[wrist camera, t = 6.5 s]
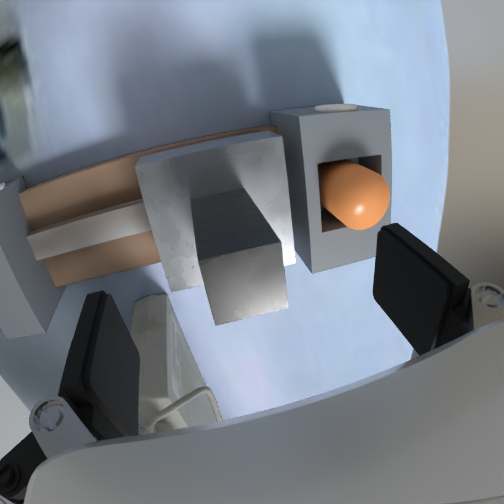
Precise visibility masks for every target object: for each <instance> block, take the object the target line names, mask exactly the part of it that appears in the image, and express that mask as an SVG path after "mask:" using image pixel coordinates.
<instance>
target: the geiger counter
mask: <svg viewBox="0 0 504 504" xmlns="http://www.w3.org/2000/svg"><path fill="white" fill-rule="evenodd" d="M130 335H131V337H132V339H133V341H134V343H135V345H136V347H137V349H138V351H139V355H140V374H139V407H138V423H139V424H140V425H141V426H142V428H143V429H144V430H143V431H142V433H141V435H142V434H149V433H156V432H163V431H169V430H175V429H180V428H186V427H192V426H198V425H203V424H208V423H213V422H218V421H222V417H221V415H220V412H219V409H218V405H217V402H216V399H215V397H214V395H213V392H212V391H211V389H210V388H208V387H207V386H206V384H205V382H204V379H203V377H202V375H201V373H200V371H199V368H198V366H197V364H196V362H195V360H194V357H193V355H192V353H191V350H190V348H189V346H188V344H187V341H186V339H185V337H184V334H183V332H182V329H181V327H180V325H179V322H178V320H177V317H176V315H175V312H174V310H173V307H172V305H171V302H170V300H169V297H168V295H167V294H160V295H149V296H147V297H144V298H142V299H140V300H138V301H136V302H135V303H134V309H133V316H132V323H131V330H130Z"/></svg>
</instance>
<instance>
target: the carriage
mask: <svg viewBox="0 0 504 504" xmlns="http://www.w3.org/2000/svg"><path fill="white" fill-rule="evenodd" d="M135 170H136V174H137V178H138V182H139V186H140V190H141V193H142V197H143V201H144V204H145V208H146V212H147V215H148V219H149V222H150V226H151V229H152V233H153V236H154V239H155V243H156V246H157V249H158V252H159V256H160V259H161V262H162V265H163V268H164V271H165V275H166V278H167V281H168V284H169V287H170V290H171V292H174V291H179V290H183V289H188V288H192V287H196V286H201V285H204V286H205V290H206V294H207V297H208V301H209V304H210V308H211V312H212V315H213V319H214V322H215V326H216V325H220V324H224V323H229V322H233V321H237V320H241V319H245V318H249V317H253V316H257V315H261V314H265V313H269V312H273V311H277V310H281V309H284V308H288V299H287V290H286V280H285V270H284V266H285V265H289V264H293V263H296V262H295V250H294V239H293V229H292V219H291V209H290V199H289V190H288V180H287V172H286V163H285V154H284V146H283V138H282V136H281V135H278V134H276V133H273V132H270V131H262V132H256V133H250V134H244V135H238V136H232V137H227V138H222V139H217V140H212V141H207V142H202V143H197V144H193V145H188V146H183V147H179V148H175V149H170V150H166V151H162V152H158V153H154V154H150V155H146V156H142V157H141V158H140V159H139V161H138V162H137V164H136V165H135Z"/></svg>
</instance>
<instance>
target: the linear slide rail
mask: <svg viewBox="0 0 504 504" xmlns="http://www.w3.org/2000/svg"><path fill="white" fill-rule="evenodd" d="M270 118H271V125H274V126H277V128H278V135H281V136H282V138H283V146H284V154H285V163H286V171H287V176H288V185H289V194H290V209H291V219H292V229H293V239H294V249H295V251H296V252H297V254H298V255H299V256H300V258H301V259H302V260H303V262H304V263H305V265H306V266H307V267H308V269H309V270H310V272H311V273H312V274H313V273H317V272H321V271H325V270H328V269H332V268H336V267H340V266H343V265H347V264H351V263H355V262H358V261H362V260H366V259H369V258H373V257H376V245H377V233H378V231H380V229H381V227H382V226H384V225H389V224H390V223H391V194H392V151H391V123H390V110H388V109H382V108H375V107H368V106H360V105H356V104H326V105H318V106H310V107H300V108H291V109H283V110H275V111H270ZM343 159H348V160H350V161H352V162H355V163H357V164H359V165H361V166H364V167H366V168H368V169H370V170H372V171H374V172H376V173H378V174H380V175H381V176H382V177H383V178H384V179H385V180H386V182H387V184H388V187H389V191H390V200H389V205H388V208H387V210H386V212H385V214H384V216H383V217H382V218H381V219H380V221H379V222H377V223H376V224H375V225H373V226H372V227H370V228H367V229H364V230H354V229H351V228H349V227H347V226H346V225H345V224H344V223H342V222H341V221H340V220H339V219H338V218H336V217H335V216H334V215H333V214H332V213H330V212H329V211H328V210H327V209H326V208H324V207H323V206H322V205H321V204H320V194H319V180H318V167H317V166H318V164H319V163H323V162H329V161H336V160H343ZM25 189H26V185H25V182H24V178H23V176H22V177H20V178H17V179H15V180H13V181H10V182H8V183H6V184H5V183H4V182H3V183H0V329H1V330H2V332H3V333H4V335H5V337H6V338H7V340H8V339H14V338H20V337H26V336H32V335H37V334H43V333H46V331H47V328H48V326H49V323H50V321H51V319H52V316H53V314H54V312H55V309H56V307H57V305H58V303H59V300H60V298H61V296H62V294H63V292H64V290H65V285H63V286H59V287H56V286H55V284H54V282H53V280H52V278H51V276H50V273H49V271H48V269H47V267H46V265H45V262H44V260H43V259H41V260H38V261H37V260H36V258H35V256H34V253H33V251H32V249H31V246H30V244H29V241H28V239H27V236H28V235H29V234H30V232H31V228H30V226H29V223H28V220H27V217H26V215H25V212H24V209H23V206H22V203H21V200H20V197H19V193H21V192H22V191H24V190H25Z"/></svg>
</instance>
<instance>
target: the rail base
mask: <svg viewBox="0 0 504 504" xmlns="http://www.w3.org/2000/svg"><path fill="white" fill-rule="evenodd" d="M262 131H270V132H273V133H276V134H278V128H277V126H274V125H265V126H259V127H252V128H246V129H240V130H235V131H229V132H224V133H218V134H213V135H208V136H203V137H199V138H194V139H189V140H185V141H180V142H176V143H172V144H167V145H163V146H159V147H155V148H151V149H147V150H143V151H140V152H136V153H132V154H129V155H125V156H121V157H118V158H114V159H111V160H108V161H104V162H101V163H98V164H95V165H91V166H88V167H85V168H82V169H79V170H76V171H73V172H70V173H67V174H64V175H61V176H58V177H56V178H53V179H50V180H47V181H44V182H42V183H39V184H36V185H34V186H31V187H29V188H26V189H25V190H24V191H22V192H21V193H19V197H20V200H21V203H22V206H23V209H24V212H25V215H26V217H27V220H28V223H29V226H30V228H31V232H30V234H29V235H28V236H27V239H28V241H29V244H30V246H31V249H32V251H33V253H34V256H35V258H36V260H37V261H38V260H41V259H43V260H44V262H45V265H46V267H47V269H48V271H49V273H50V276H51V278H52V280H53V282H54V284H55V286H56V287H59V286H63V285H67V284H71V283H75V282H79V281H83V280H87V279H92V278H96V277H100V276H104V275H108V274H112V273H117V272H121V271H125V270H129V269H133V268H138V267H142V266H146V265H150V264H155V263H159V262H161V259H160V256H159V252H158V249H157V246H156V243H155V239H154V236H153V233H152V229H151V226H150V222H149V219H148V215H147V212H146V208H145V204H144V201H143V197H142V193H141V190H140V186H139V182H138V178H137V174H136V170H135V165H136V164H137V162H138V161H139V159H140V158H141V157H142V156H146V155H150V154H154V153H158V152H162V151H166V150H170V149H175V148H179V147H183V146H188V145H193V144H197V143H202V142H207V141H212V140H217V139H222V138H227V137H232V136H238V135H244V134H250V133H256V132H262ZM286 172H287V171H286ZM287 180H288V176H287ZM288 190H289V185H288ZM289 199H290V194H289Z"/></svg>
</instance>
